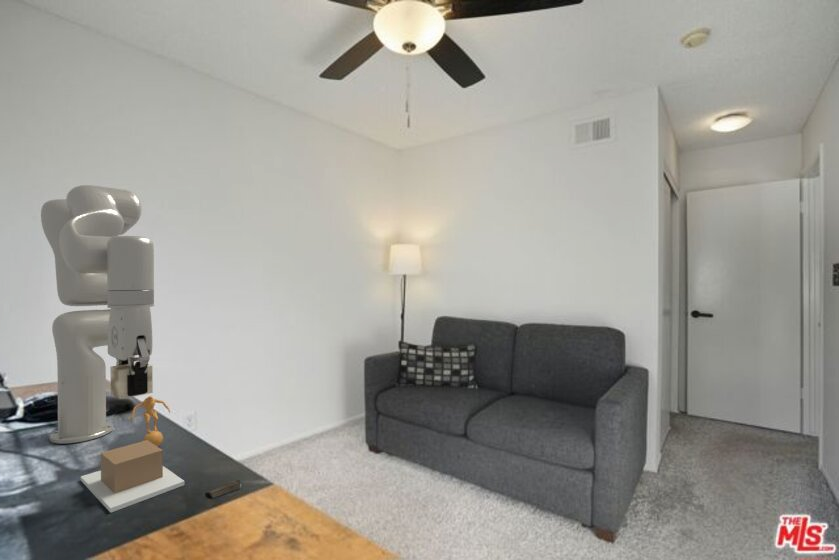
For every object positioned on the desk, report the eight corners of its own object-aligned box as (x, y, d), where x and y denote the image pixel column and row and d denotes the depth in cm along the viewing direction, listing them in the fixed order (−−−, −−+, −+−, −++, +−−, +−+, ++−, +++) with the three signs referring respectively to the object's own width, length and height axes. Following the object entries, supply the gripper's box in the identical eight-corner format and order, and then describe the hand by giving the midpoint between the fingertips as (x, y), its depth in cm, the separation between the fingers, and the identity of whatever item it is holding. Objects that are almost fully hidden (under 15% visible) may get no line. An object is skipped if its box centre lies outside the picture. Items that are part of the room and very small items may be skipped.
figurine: (135, 456, 94) (134, 403, 93) (127, 448, 98) (126, 397, 97) (175, 444, 100) (175, 395, 100) (166, 438, 104) (166, 390, 104)
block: (205, 500, 78) (204, 490, 78) (236, 485, 83) (234, 476, 83) (214, 504, 76) (212, 494, 76) (245, 489, 80) (244, 480, 80)
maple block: (110, 394, 81) (110, 366, 81) (142, 388, 85) (142, 362, 85) (120, 399, 78) (119, 370, 78) (152, 392, 82) (152, 365, 82)
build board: (80, 480, 83) (80, 449, 82) (148, 459, 92) (148, 431, 92) (110, 512, 72) (110, 477, 71) (184, 485, 81) (184, 453, 81)
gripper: (94, 298, 84) (94, 388, 84) (124, 302, 73) (124, 404, 73) (137, 297, 89) (137, 381, 90) (170, 300, 79) (170, 395, 79)
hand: (131, 390), depth 81 cm, fingers closed on maple block, 5 cm apart
